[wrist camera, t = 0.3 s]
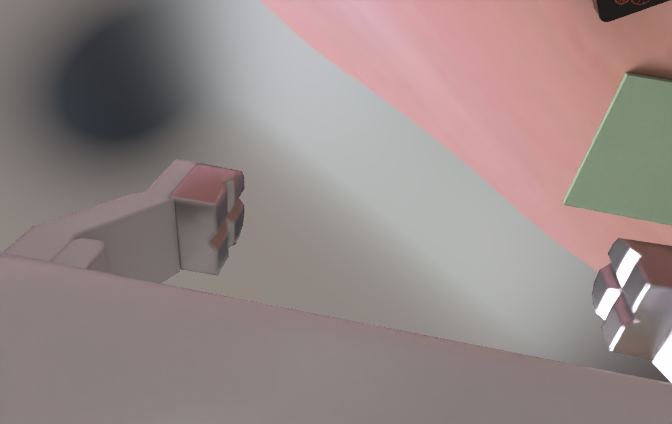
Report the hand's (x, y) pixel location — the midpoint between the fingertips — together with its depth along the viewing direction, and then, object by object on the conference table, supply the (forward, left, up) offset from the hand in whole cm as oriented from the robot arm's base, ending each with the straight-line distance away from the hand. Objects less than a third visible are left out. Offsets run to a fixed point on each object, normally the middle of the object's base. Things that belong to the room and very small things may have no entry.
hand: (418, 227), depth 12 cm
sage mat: (+18, +25, -39) cm, 50 cm away
